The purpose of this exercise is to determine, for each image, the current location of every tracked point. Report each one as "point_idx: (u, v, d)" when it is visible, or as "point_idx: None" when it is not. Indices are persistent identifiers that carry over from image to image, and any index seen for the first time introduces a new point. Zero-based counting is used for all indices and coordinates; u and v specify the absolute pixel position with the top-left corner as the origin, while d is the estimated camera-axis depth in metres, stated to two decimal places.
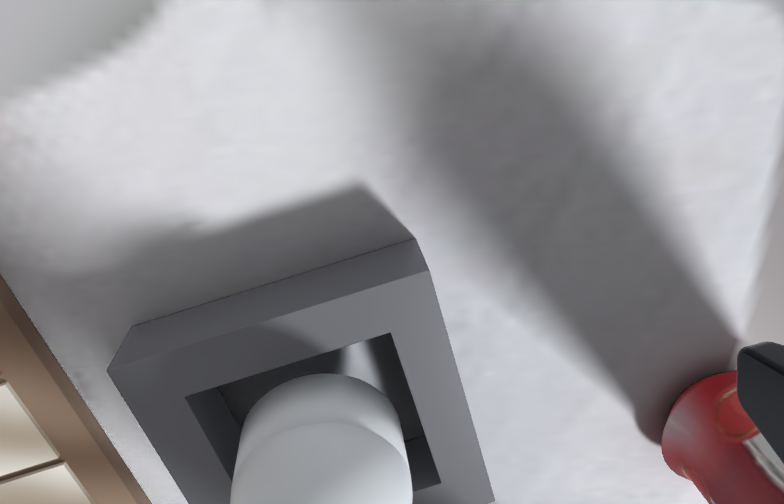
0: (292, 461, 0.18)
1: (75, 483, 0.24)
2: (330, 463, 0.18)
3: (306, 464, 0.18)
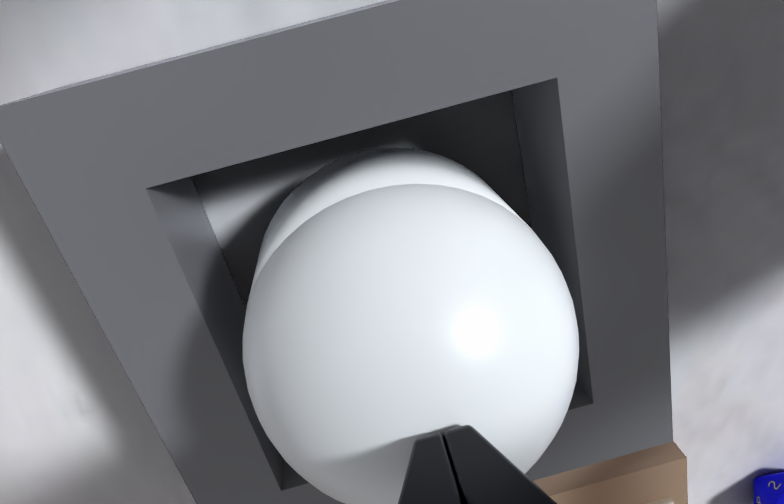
0: None
1: None
2: (255, 375, 0.09)
3: (258, 408, 0.10)
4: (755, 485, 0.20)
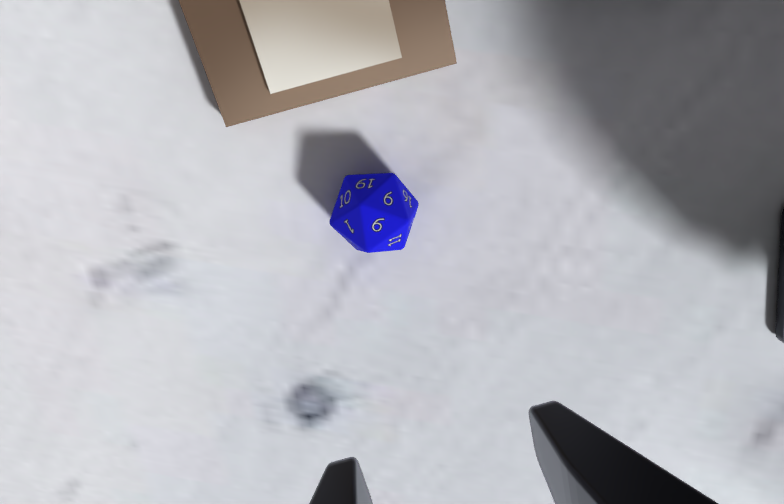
0: None
1: None
2: None
3: None
4: None
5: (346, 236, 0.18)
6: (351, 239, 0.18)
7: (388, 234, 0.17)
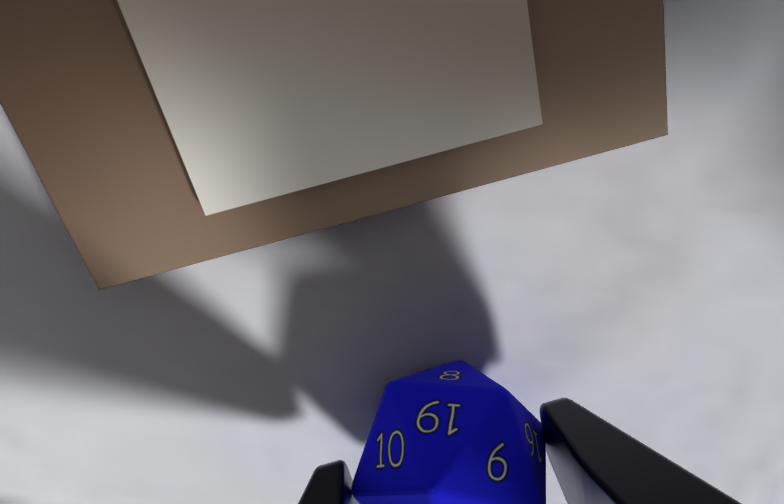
0: None
1: None
2: None
3: None
4: (459, 363, 0.09)
5: None
6: None
7: None
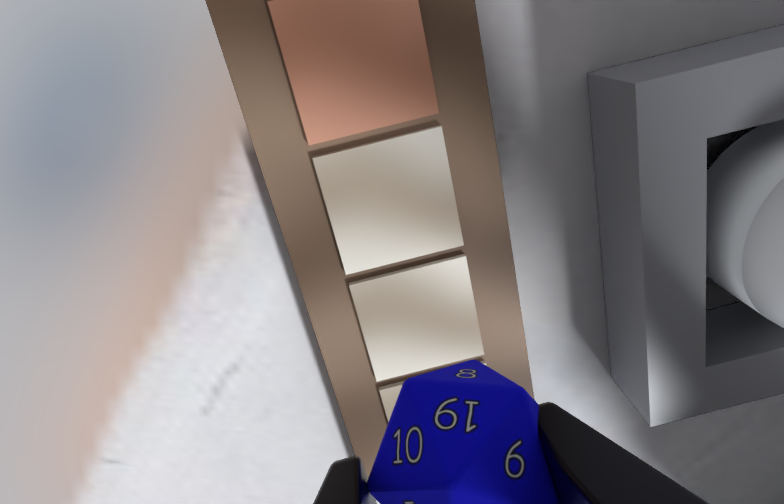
0: None
1: (468, 286, 0.19)
2: None
3: None
4: (474, 362, 0.09)
5: None
6: None
7: None
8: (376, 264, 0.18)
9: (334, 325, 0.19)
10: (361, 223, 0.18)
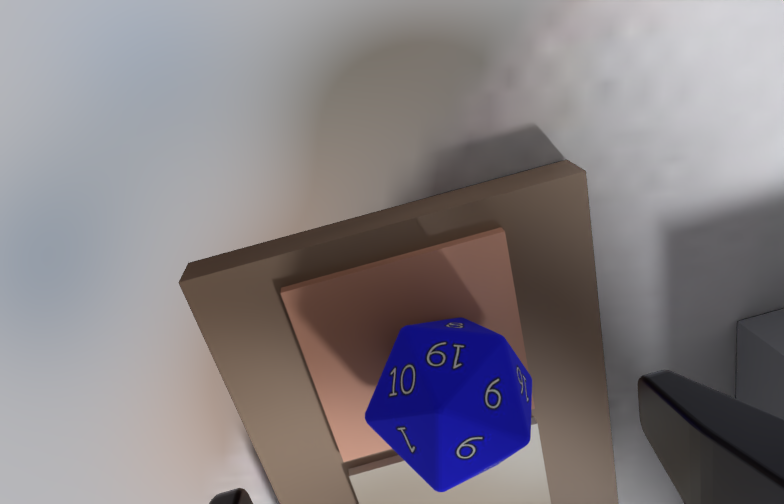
0: None
1: None
2: None
3: None
4: (462, 319, 0.10)
5: (397, 452, 0.09)
6: (407, 461, 0.09)
7: (485, 463, 0.09)
8: None
9: None
10: None
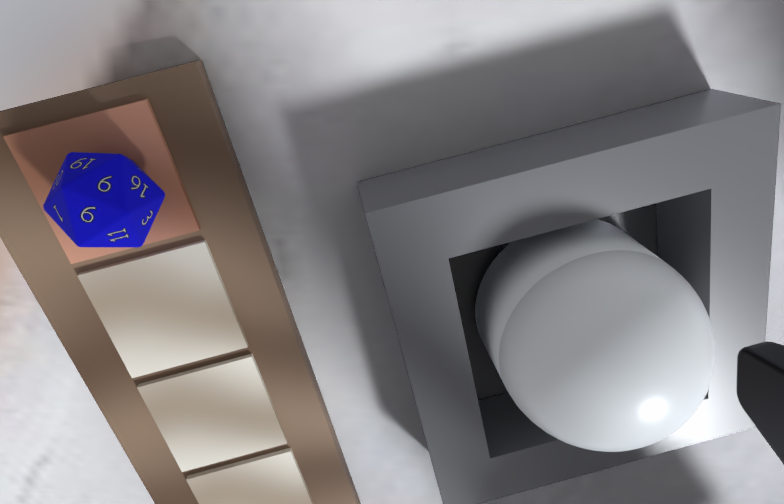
0: (609, 281, 0.15)
1: (259, 383, 0.20)
2: (655, 284, 0.15)
3: (628, 283, 0.15)
4: None
5: (59, 225, 0.15)
6: (62, 229, 0.14)
7: (104, 227, 0.14)
8: (161, 367, 0.19)
9: (131, 422, 0.20)
10: (139, 332, 0.18)
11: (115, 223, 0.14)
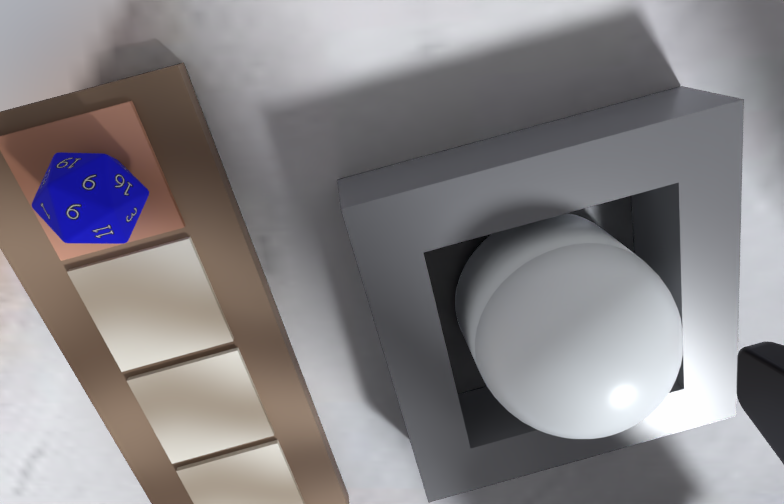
0: (577, 272, 0.16)
1: (246, 376, 0.20)
2: (621, 275, 0.16)
3: (595, 274, 0.16)
4: None
5: (46, 222, 0.15)
6: (50, 226, 0.15)
7: (89, 224, 0.15)
8: (149, 361, 0.19)
9: (122, 415, 0.20)
10: (127, 326, 0.19)
11: (100, 220, 0.15)
